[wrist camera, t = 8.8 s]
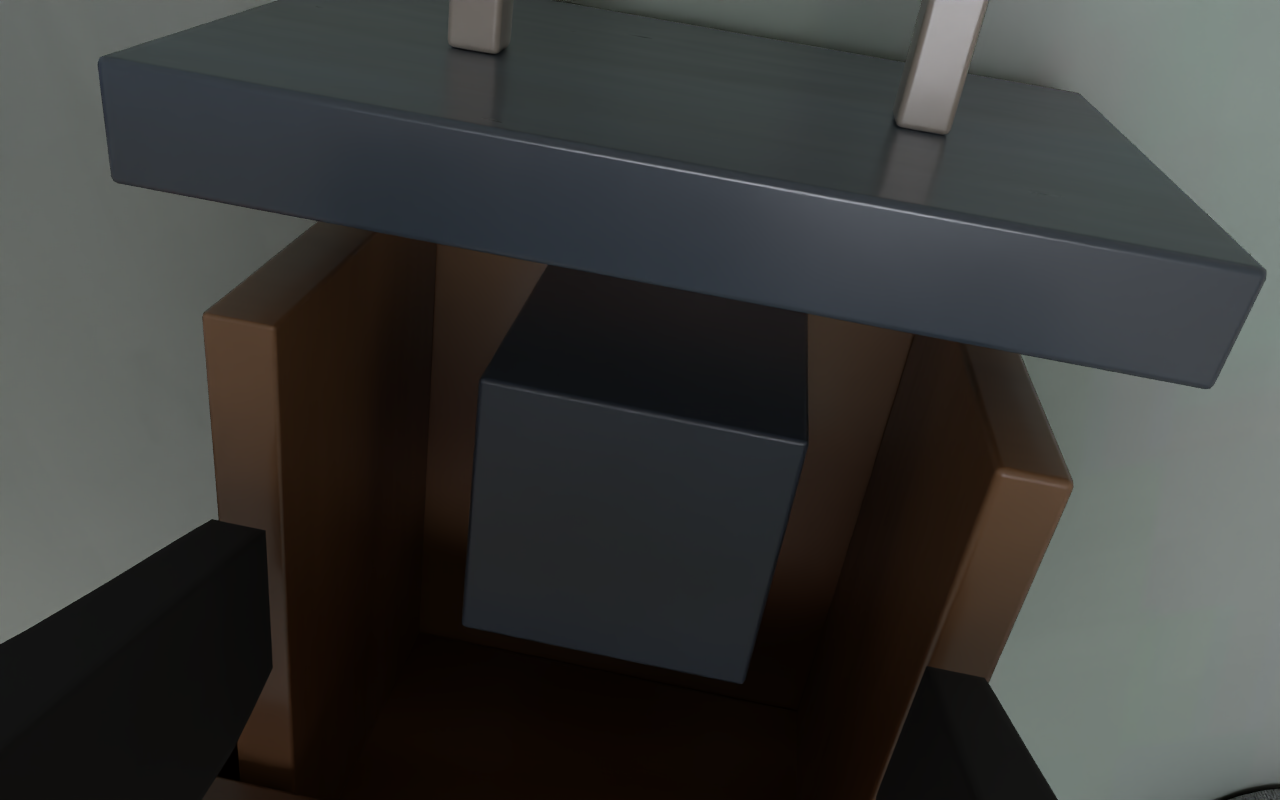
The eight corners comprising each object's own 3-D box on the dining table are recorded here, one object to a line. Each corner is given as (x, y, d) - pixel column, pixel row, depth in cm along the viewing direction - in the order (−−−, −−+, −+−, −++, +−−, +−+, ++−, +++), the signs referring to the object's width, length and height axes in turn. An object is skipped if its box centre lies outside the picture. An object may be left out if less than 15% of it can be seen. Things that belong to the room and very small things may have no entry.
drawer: (375, -388, 13) (13, -574, 7) (1206, -257, 12) (1573, -338, 6) (366, 609, 21) (197, 907, 15) (862, 712, 21) (885, 1063, 15)
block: (528, 471, 18) (460, 628, 14) (549, 257, 16) (476, 377, 12) (756, 517, 17) (744, 687, 14) (809, 305, 15) (810, 442, 12)
